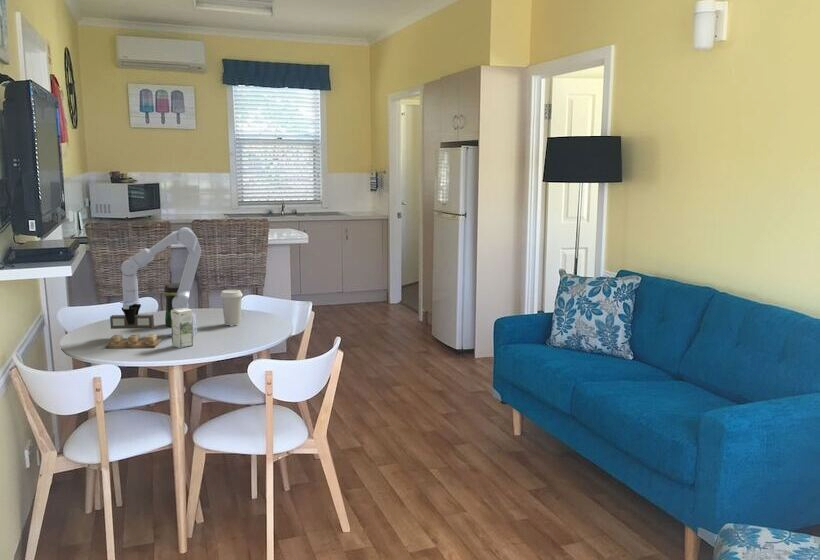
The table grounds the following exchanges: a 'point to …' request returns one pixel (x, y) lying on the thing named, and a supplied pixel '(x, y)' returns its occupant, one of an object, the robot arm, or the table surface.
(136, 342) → the display stand
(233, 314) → the coffee cup
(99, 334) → the table surface
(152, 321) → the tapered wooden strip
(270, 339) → the table surface
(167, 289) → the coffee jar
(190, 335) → the syrup box
